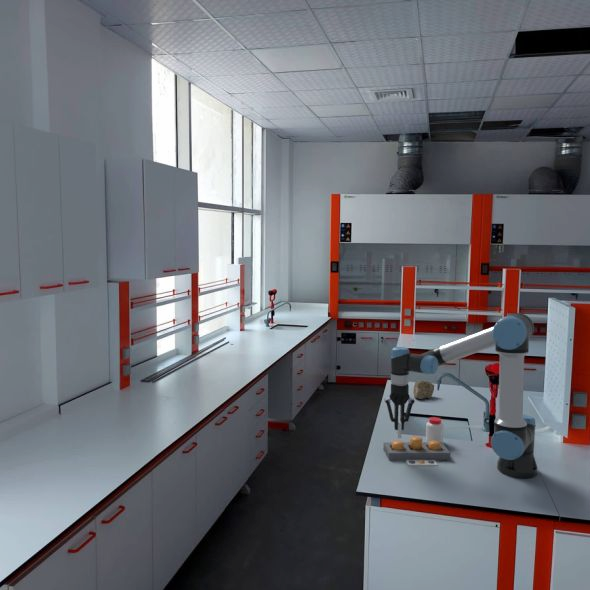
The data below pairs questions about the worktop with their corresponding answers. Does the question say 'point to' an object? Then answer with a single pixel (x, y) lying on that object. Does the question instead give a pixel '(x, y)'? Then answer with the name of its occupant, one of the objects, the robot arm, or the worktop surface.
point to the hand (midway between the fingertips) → (399, 437)
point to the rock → (423, 389)
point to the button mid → (416, 443)
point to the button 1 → (397, 445)
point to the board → (416, 452)
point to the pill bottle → (434, 430)
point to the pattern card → (421, 463)
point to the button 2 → (434, 445)
